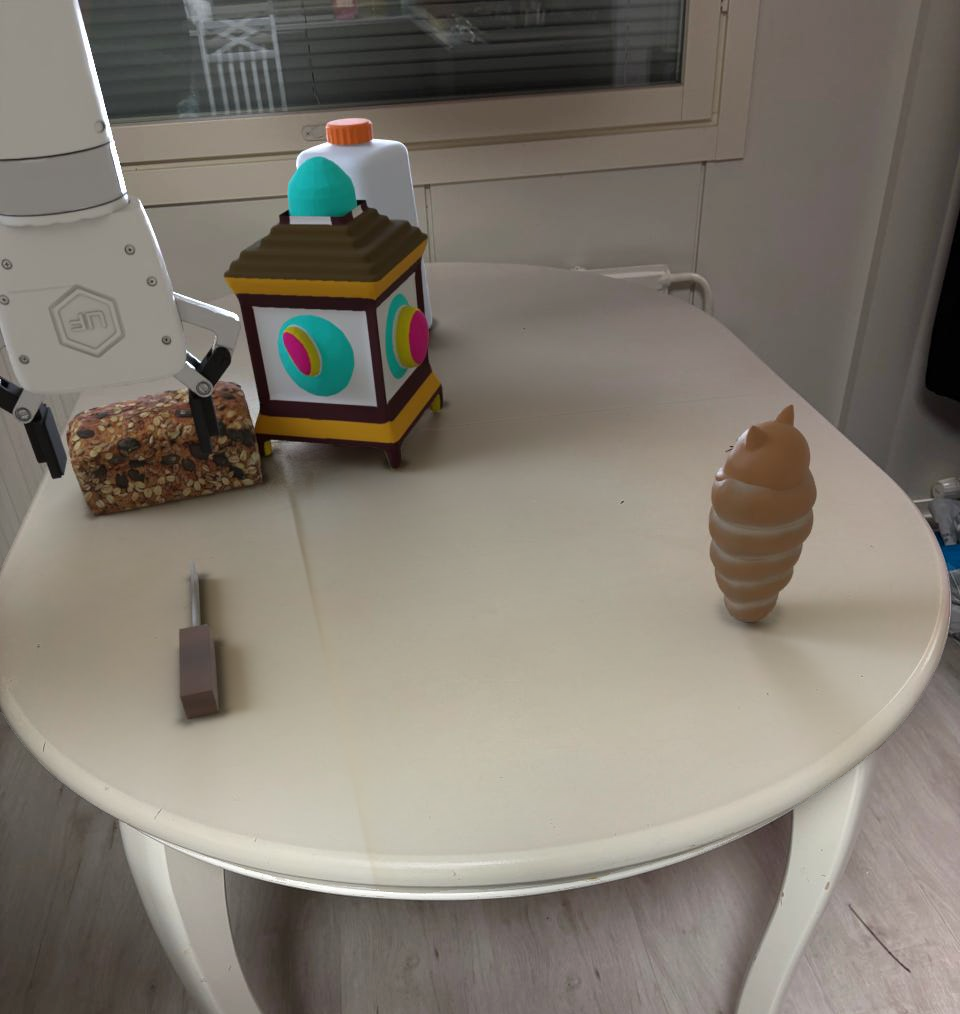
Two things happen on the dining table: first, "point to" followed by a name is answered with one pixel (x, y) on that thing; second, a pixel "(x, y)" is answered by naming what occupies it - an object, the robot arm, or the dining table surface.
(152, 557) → the dining table surface
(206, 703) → the knife
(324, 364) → the decorative lantern
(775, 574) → the cat ice cream
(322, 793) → the dining table surface
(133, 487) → the bread
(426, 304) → the plastic bottle
